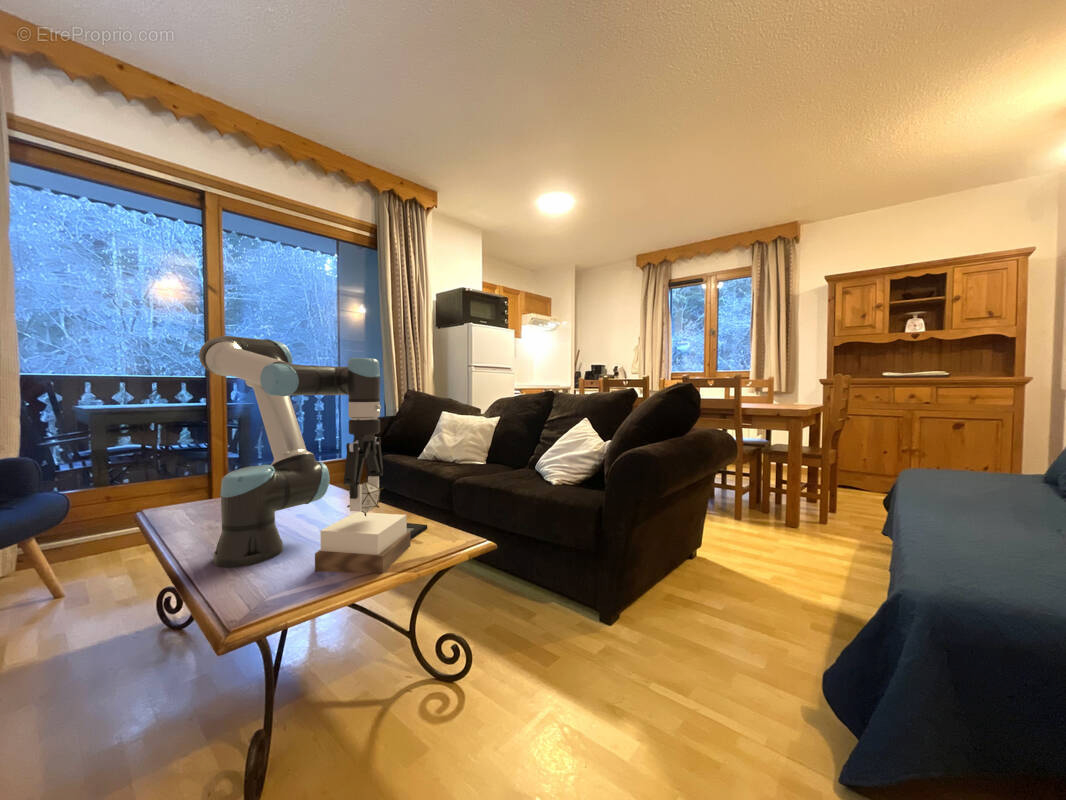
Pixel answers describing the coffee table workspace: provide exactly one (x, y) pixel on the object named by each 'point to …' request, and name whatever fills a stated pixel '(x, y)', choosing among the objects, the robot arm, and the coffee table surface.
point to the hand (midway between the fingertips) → (365, 505)
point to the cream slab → (364, 533)
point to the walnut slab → (361, 559)
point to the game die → (369, 497)
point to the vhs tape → (415, 529)
